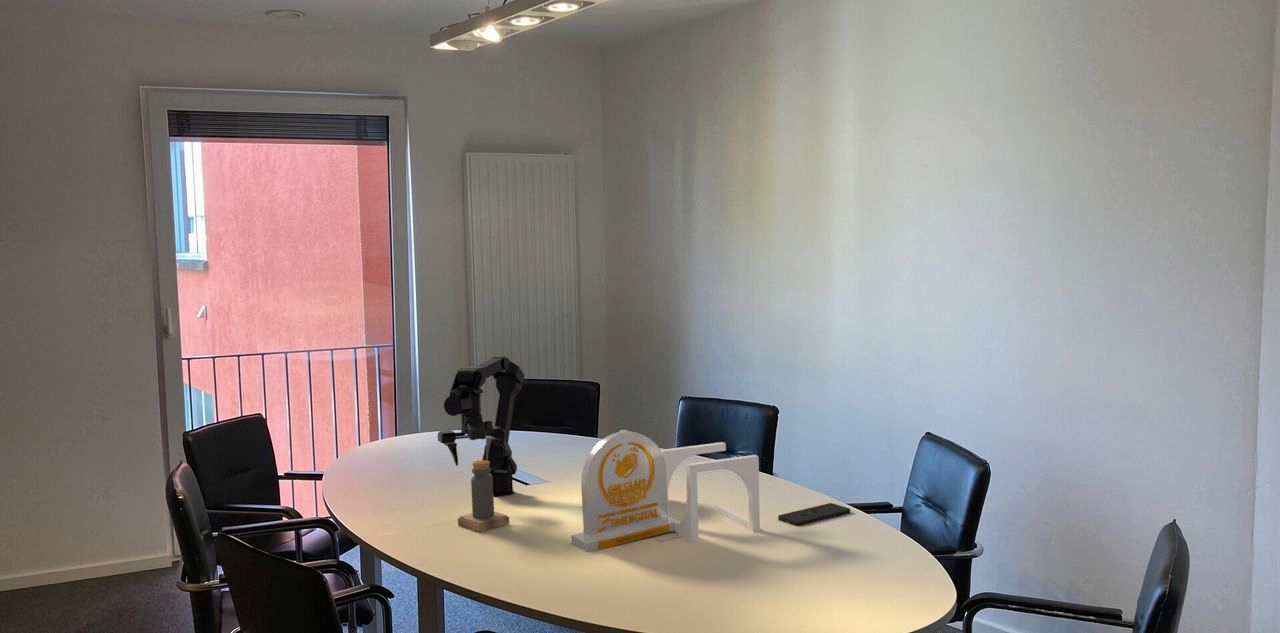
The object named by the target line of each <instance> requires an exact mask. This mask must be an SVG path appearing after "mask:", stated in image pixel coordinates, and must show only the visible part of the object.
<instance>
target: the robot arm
mask: <svg viewBox="0 0 1280 633" xmlns="http://www.w3.org/2000/svg"><path fill="white" fill-rule="evenodd" d="M490 377H493V379H494V380H495V387H496V390H497V392H498V394H499V396H498V401H497V402H498V403H497V408H496V415H495V421H494V426H493V421H492V420H487V421H483V416H482V407H481V405H482V404H481V402H482V400H481V396H482V394H483V393H484V390H483V389H482V388H481V387H483V385H485V384H486V379H488V378H490ZM524 381H525V373H524V372H523V370H522V369H521V367H520V366H518V365H517V364H515V362H512V361H511V360H510V359H509V357H507V356H492V357H491V358H490V359H488V360H486V361H484V362H482V363H479V364H478V365H475V366H464V367H463V366H462V367H459V369H458V370H457V372H456V373H455V376H454V380H453V383H452V386H451V389H450V392H449V396H447V398H446V399H445V400H444V402H443V408H444V411H445V413H446V414H448V415H449V416H452V417H455V416H458V415H460V421H461V422H460V423H461V424H460V425H461V427H460V432H459V431H458V432H455V431H454V430H451V429H450V430H440V431H439V432H437V442H439V443H441V444H443V445H444V446H446V447H447V448H448V450H449V452H450V455H451V456H452V460H453V462H454V464H455V466H456V467H458V466H459V457H458V450H457V447H458V443H456V442H455V441H456V440H463V439H469V440H470V441H476V440H485V443H486V444H485V446H484V452H483V456H482V460H486V461H490V464H489V467H490V468H491V472H489V475H490V476H492V478H493V497H498V496H506V495H512V494H515V491H514V486H513V483H514V482H513V475H516V473H517V470H518V464H517V463H516V462H515V460H514V459H513V457H512V456H513V451H512V449H511V447H510V444H509V438H510V433H511V425H512V418H513V412H514V408H515V399H516V397H517V395H518V394H519V393H520V392H521V390H522V388H523V385H524Z"/></svg>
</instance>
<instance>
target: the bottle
mask: <svg viewBox="0 0 1280 633" xmlns="http://www.w3.org/2000/svg"><path fill="white" fill-rule="evenodd" d="M489 464H490V461H486V460H483V459H482V460H476V461H472V466H473V467H472V469H471V472H472V474H474V476H472V477H471V478H470V479H471V480H470V483H471V485H470V486H471V488H470V489H471V507H472V510H471V511H472V512H471V513H473V517H474V518H480V519H482V518H489V517H492V516H494V511H495V509H494V508H495V507H494V506H495V504H494V501H495V500H494V495H493V478H492V476H490V474H489V472H491V468H490V467H489Z"/></svg>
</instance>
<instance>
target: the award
mask: <svg viewBox="0 0 1280 633" xmlns="http://www.w3.org/2000/svg"><path fill="white" fill-rule="evenodd" d="M598 442H599V443H598ZM598 442H597V443H596V444H597V445H596V444H595V445H596V446H595V447H594V446H593V447H594V448H593V449H592V450H591V451H590V453H589V454H588V456H587V458H586V460H585V463H584V466H583V467H582V472H581V479H580V480H581V481H580V483H581V503H582V507H581V508H582V521H583V522H582V523H583V532H580V533H579V532H578V533H575V534H574V533H573V534H571V535H570V539H571V540H570V541H571V544H572V545H574V546H575V547H577V548H580V549H581V550H583V551H585V552H591V551H592V552H593V551H597V550H601V549H606V548H610V547H615V546H618V545H622V544H626V543H631V542H634V541H639V540H642V539H646V538H649V537H653V536H657V535H662V534H666V533H670V532H674V531H675V524H678V523H680V522H681V521H680V520H678V519H675V518H673V517H671V516H669V517H668V511H669V497H668V498H667V475H666V464H665V460H664V457H663V454H662V452H661V450H662V449H661V448H659V446H658V445H657V443H655V442H654V441H653V440H652V439H651V438H650V437H648V436H647V435H645V434H642V433H638V432H635V431H630V430H627V431H622V432H619V431H617V432H613V433H612V434H609V435H607V436H606V437H604V438H603V439H602V440H600V441H598ZM670 517H671V518H670Z"/></svg>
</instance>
